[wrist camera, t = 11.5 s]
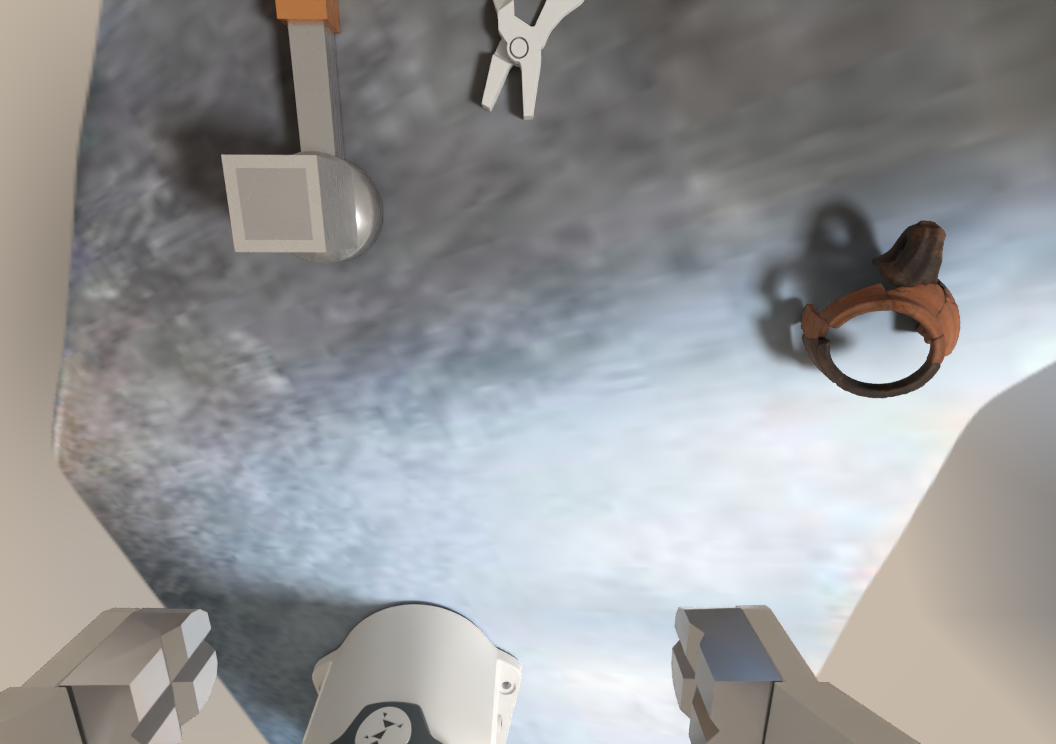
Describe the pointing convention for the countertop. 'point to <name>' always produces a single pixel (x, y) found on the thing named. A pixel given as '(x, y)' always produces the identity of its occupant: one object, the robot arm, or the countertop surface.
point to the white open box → (290, 203)
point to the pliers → (522, 49)
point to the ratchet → (325, 111)
